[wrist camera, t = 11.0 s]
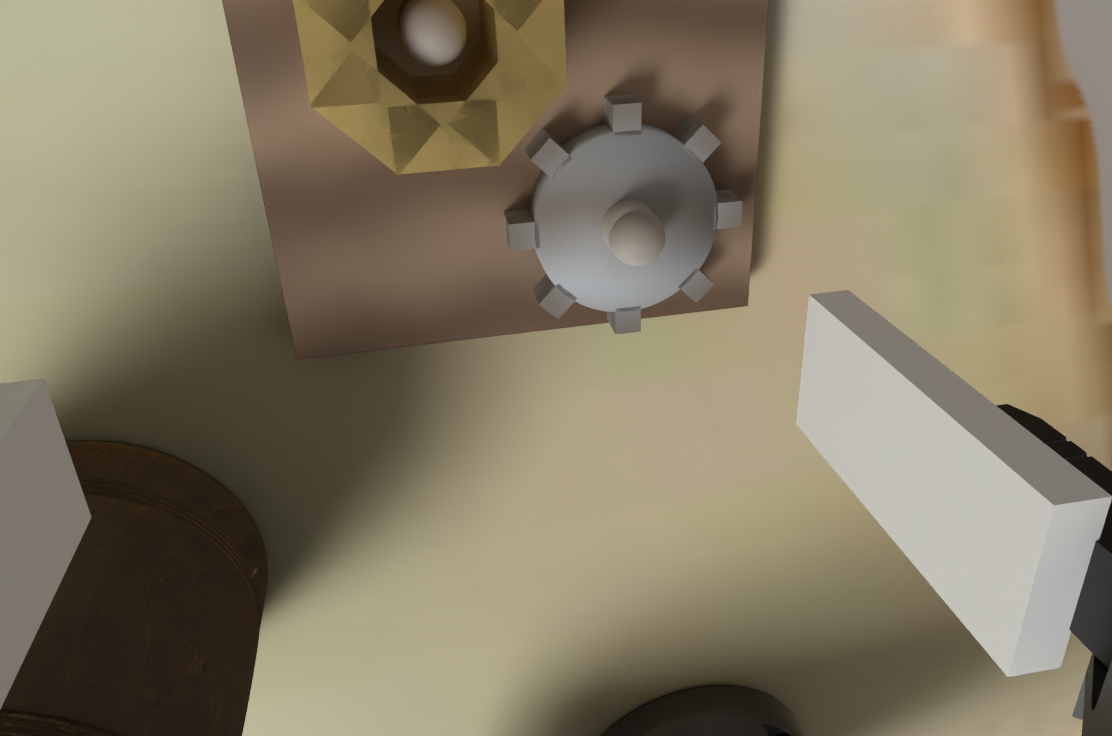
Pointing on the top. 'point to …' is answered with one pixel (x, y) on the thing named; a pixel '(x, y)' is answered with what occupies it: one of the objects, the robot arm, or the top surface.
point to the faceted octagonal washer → (434, 84)
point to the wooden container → (146, 608)
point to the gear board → (517, 180)
